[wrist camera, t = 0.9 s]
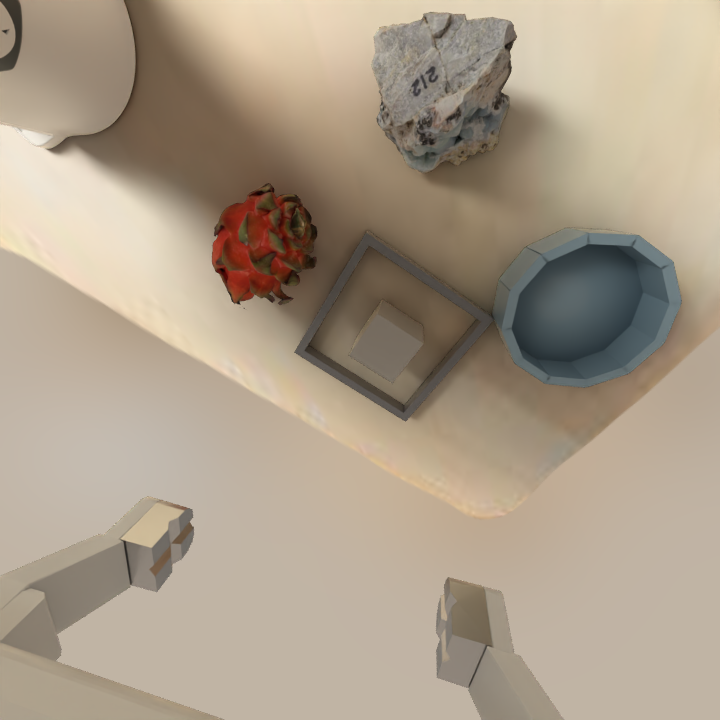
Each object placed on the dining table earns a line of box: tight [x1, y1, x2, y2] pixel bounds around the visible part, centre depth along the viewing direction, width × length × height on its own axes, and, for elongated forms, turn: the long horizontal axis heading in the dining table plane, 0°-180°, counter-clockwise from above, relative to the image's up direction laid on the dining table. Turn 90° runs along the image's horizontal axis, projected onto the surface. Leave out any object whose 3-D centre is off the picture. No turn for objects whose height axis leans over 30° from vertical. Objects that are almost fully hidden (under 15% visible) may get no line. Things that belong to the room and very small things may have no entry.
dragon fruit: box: [212, 183, 317, 309], centre depth 32 cm, size 8×8×12 cm
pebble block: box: [349, 299, 424, 383], centre depth 35 cm, size 5×5×5 cm
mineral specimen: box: [371, 12, 517, 173], centre depth 27 cm, size 10×8×10 cm
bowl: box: [492, 228, 682, 388], centre depth 32 cm, size 13×13×4 cm
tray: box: [294, 231, 494, 422], centre depth 37 cm, size 14×14×2 cm
